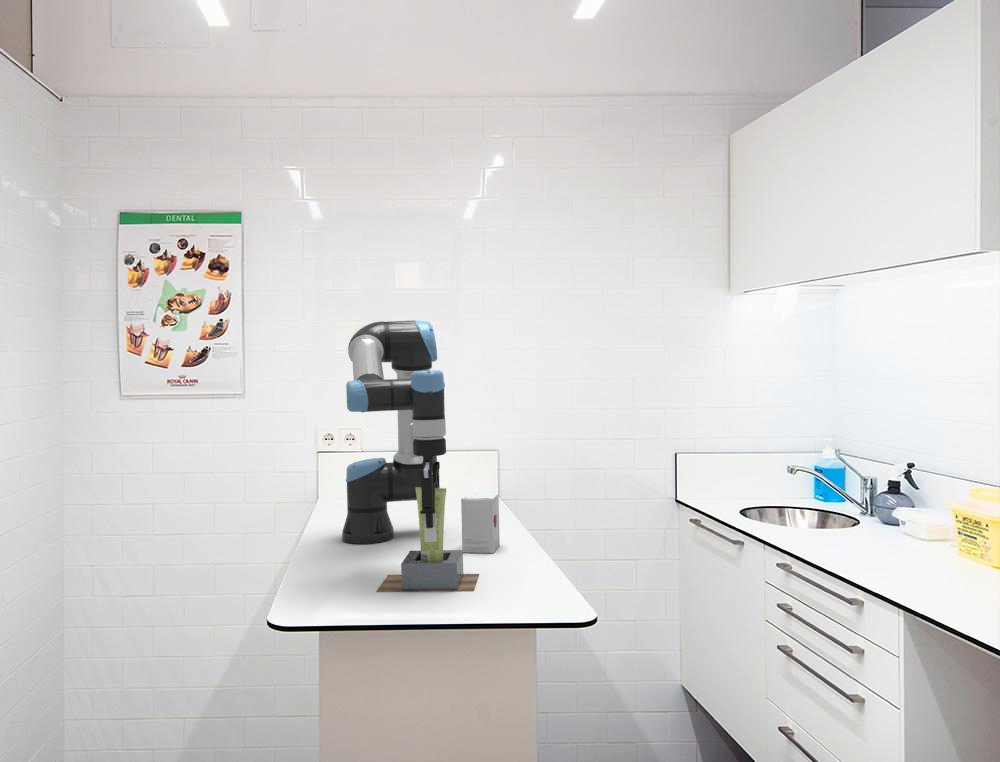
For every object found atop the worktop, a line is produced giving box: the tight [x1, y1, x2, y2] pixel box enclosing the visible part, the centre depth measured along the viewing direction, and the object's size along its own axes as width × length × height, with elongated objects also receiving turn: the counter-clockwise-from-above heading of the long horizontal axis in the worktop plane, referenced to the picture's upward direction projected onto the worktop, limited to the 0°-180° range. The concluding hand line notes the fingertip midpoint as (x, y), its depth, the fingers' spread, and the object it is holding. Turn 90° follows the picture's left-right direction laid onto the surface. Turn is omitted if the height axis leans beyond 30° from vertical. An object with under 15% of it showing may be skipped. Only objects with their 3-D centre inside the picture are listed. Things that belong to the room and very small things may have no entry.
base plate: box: [375, 573, 480, 593], centre depth 182 cm, size 14×22×1 cm, turn 86°
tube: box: [416, 487, 447, 561], centre depth 182 cm, size 6×5×20 cm
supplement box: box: [460, 492, 501, 554], centre depth 218 cm, size 9×9×15 cm
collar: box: [400, 549, 464, 590], centre depth 182 cm, size 12×12×6 cm
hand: (432, 538), depth 182 cm, fingers closed on tube, 4 cm apart
